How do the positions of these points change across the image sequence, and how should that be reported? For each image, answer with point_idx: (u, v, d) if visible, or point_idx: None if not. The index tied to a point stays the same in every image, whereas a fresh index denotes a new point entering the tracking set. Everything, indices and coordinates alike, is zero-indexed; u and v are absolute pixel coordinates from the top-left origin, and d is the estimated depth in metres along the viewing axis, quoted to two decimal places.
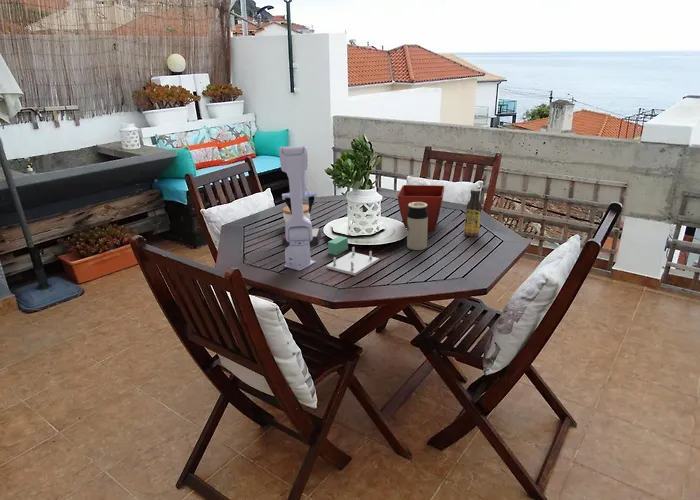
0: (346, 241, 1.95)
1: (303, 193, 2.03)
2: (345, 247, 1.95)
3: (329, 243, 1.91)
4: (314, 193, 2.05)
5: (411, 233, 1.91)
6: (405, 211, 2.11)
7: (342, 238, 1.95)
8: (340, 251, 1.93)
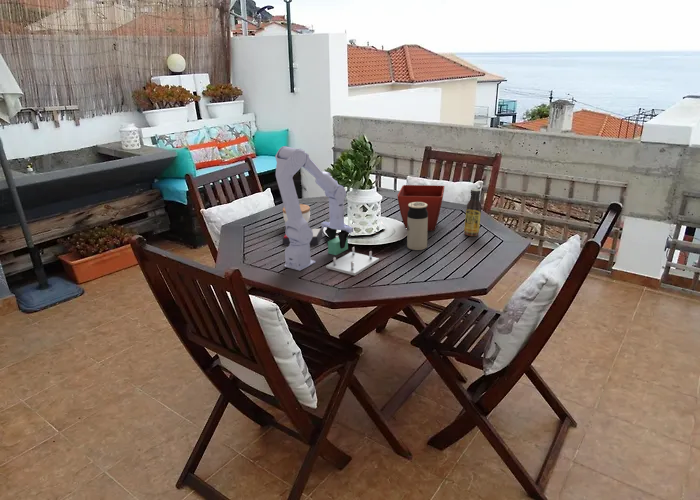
0: (346, 241, 1.95)
1: (337, 224, 1.88)
2: (345, 247, 1.95)
3: (329, 242, 1.91)
4: None
5: (411, 233, 1.91)
6: (405, 211, 2.11)
7: None
8: (340, 251, 1.93)
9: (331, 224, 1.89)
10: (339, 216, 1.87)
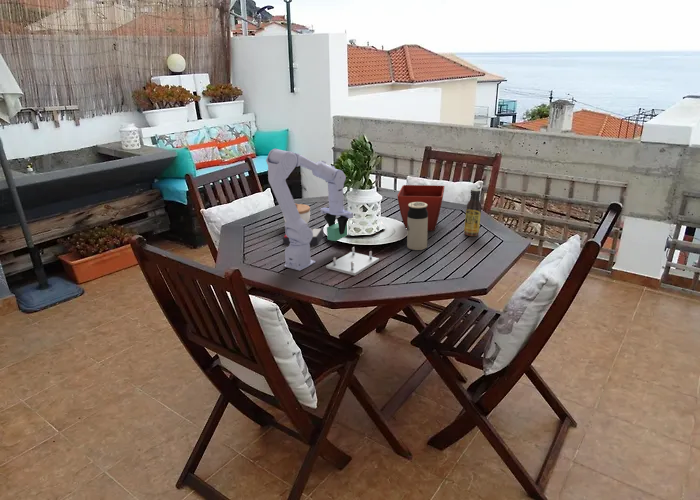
0: (346, 227, 1.93)
1: (336, 210, 1.86)
2: (344, 233, 1.93)
3: (328, 228, 1.89)
4: (349, 213, 1.86)
5: (411, 233, 1.91)
6: (405, 211, 2.11)
7: None
8: (339, 237, 1.91)
9: (330, 209, 1.87)
10: (338, 201, 1.85)
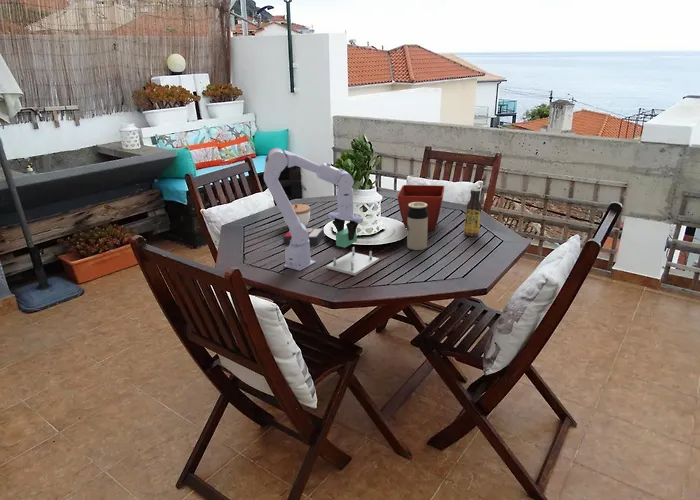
0: (355, 232, 1.85)
1: (346, 215, 1.78)
2: (353, 239, 1.85)
3: (337, 234, 1.81)
4: (359, 218, 1.77)
5: (411, 233, 1.91)
6: (405, 211, 2.11)
7: None
8: (349, 243, 1.83)
9: (339, 214, 1.79)
10: (348, 206, 1.77)
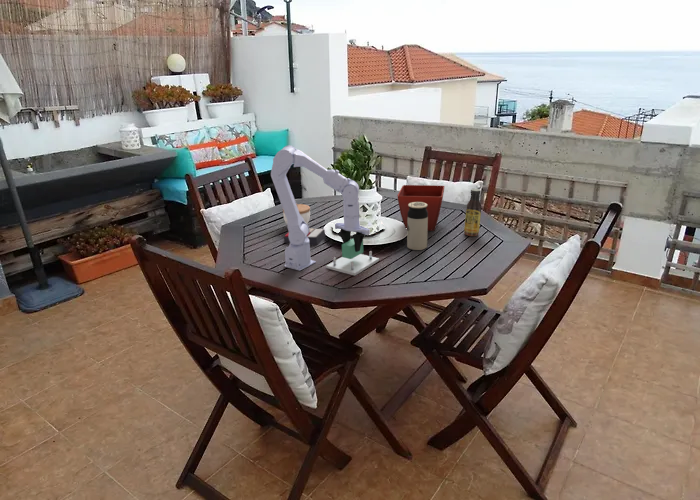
0: (361, 243, 1.81)
1: (352, 226, 1.74)
2: (360, 250, 1.81)
3: (343, 245, 1.77)
4: (366, 229, 1.73)
5: (411, 233, 1.91)
6: (405, 211, 2.11)
7: None
8: (355, 254, 1.78)
9: (345, 225, 1.75)
10: (354, 217, 1.73)
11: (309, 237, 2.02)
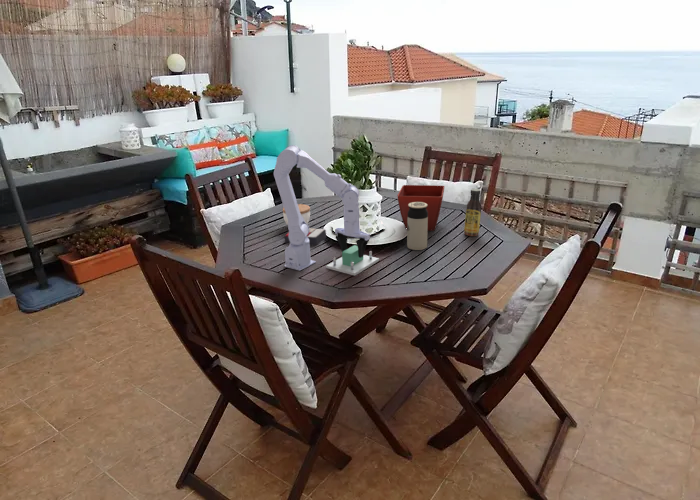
0: None
1: (352, 231, 1.74)
2: None
3: (343, 253, 1.78)
4: (366, 235, 1.74)
5: (411, 233, 1.91)
6: (405, 211, 2.11)
7: None
8: (355, 262, 1.80)
9: (346, 231, 1.75)
10: (354, 222, 1.73)
11: (309, 237, 2.02)
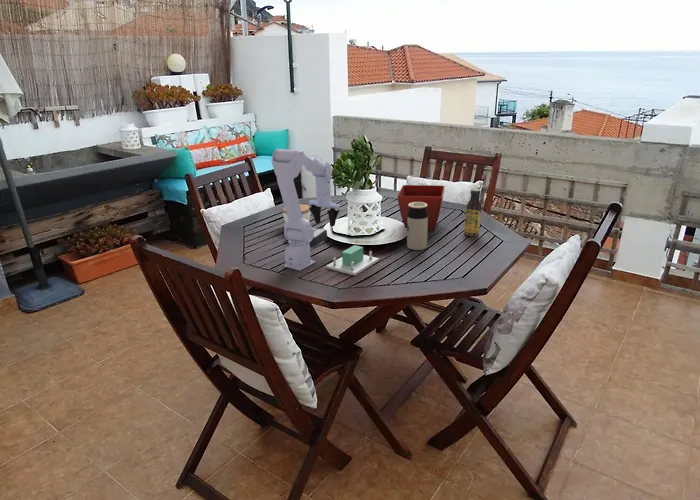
0: (362, 251, 1.82)
1: (323, 202, 1.91)
2: (360, 257, 1.82)
3: (343, 253, 1.78)
4: (336, 205, 1.91)
5: (411, 233, 1.91)
6: (405, 211, 2.11)
7: (358, 248, 1.81)
8: (355, 262, 1.80)
9: (318, 202, 1.92)
10: (325, 194, 1.90)
11: None
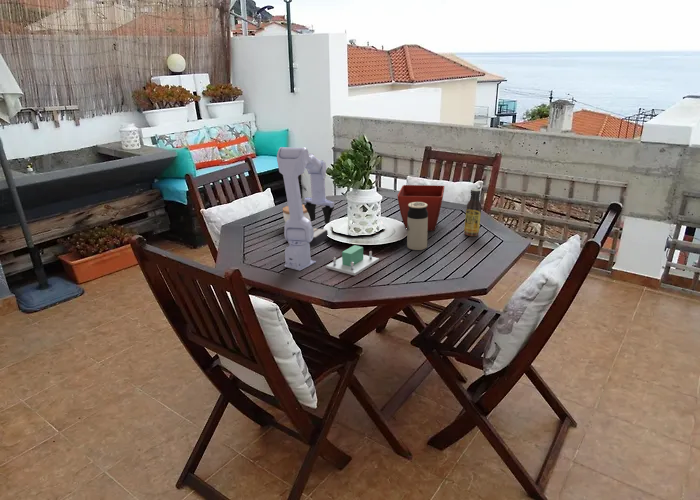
0: (362, 251, 1.82)
1: (318, 199, 1.95)
2: (360, 257, 1.82)
3: (343, 253, 1.78)
4: (330, 202, 1.95)
5: (411, 233, 1.91)
6: (405, 211, 2.11)
7: (358, 248, 1.81)
8: (355, 262, 1.80)
9: (313, 199, 1.96)
10: (320, 191, 1.94)
11: None
